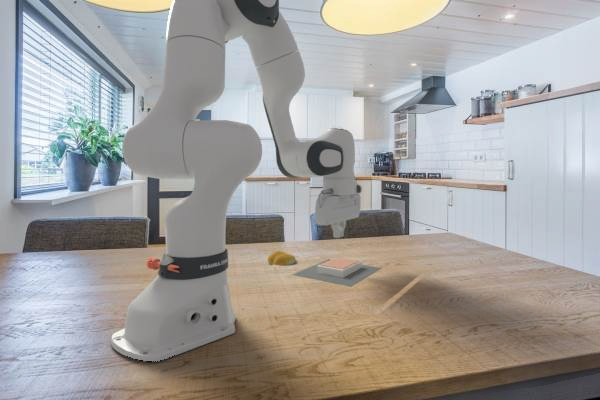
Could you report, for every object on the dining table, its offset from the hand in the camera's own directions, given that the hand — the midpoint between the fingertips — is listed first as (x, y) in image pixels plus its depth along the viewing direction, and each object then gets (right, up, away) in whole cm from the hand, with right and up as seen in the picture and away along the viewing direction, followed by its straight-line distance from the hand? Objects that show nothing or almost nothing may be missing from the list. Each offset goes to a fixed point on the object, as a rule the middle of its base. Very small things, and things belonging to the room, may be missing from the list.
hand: (338, 237), depth 102 cm
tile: (-3, -9, -3) cm, 10 cm away
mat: (0, -11, +1) cm, 11 cm away
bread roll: (-17, -10, +12) cm, 23 cm away
